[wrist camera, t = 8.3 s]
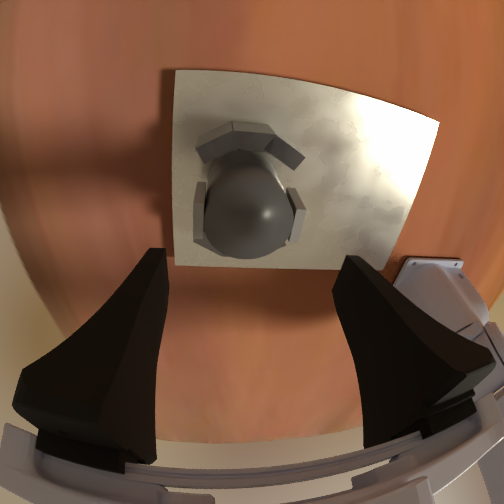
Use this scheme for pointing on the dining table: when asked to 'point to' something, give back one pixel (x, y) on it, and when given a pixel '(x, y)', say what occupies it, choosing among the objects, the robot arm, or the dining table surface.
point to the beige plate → (300, 163)
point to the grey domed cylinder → (246, 207)
